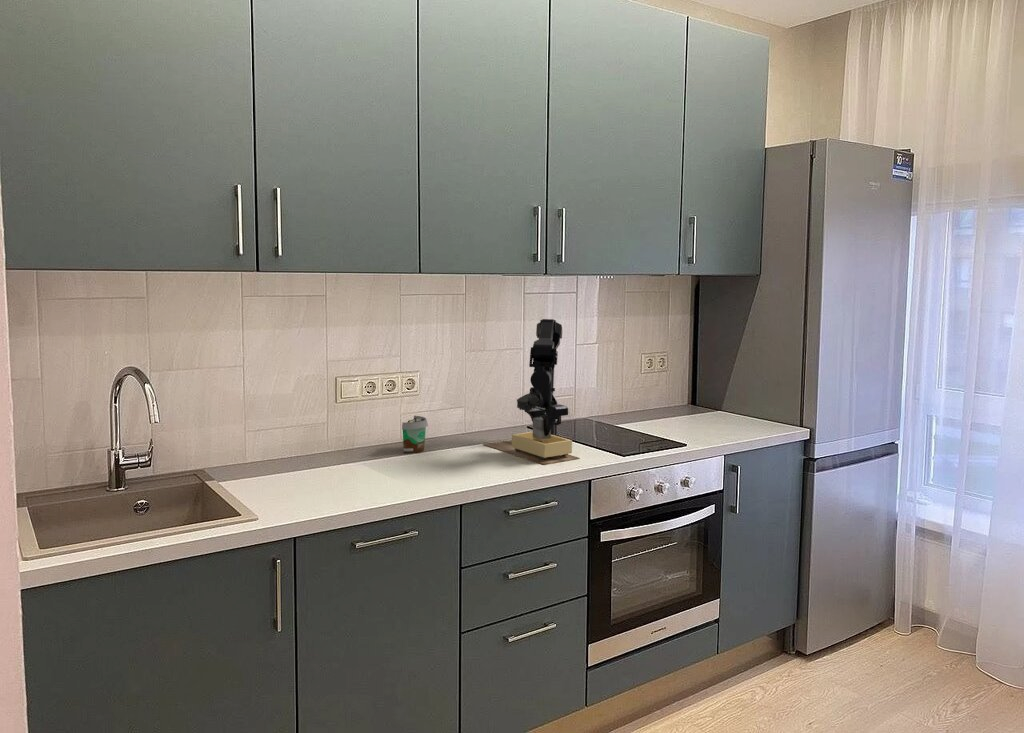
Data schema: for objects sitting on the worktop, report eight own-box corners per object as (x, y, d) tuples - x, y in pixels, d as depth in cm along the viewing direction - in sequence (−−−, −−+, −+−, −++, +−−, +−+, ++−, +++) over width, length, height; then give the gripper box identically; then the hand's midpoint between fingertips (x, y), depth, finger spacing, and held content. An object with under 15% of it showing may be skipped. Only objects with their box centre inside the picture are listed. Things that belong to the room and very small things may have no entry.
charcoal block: (542, 435, 262) (543, 416, 261) (550, 438, 258) (551, 419, 258) (532, 437, 259) (532, 418, 258) (540, 439, 256) (540, 420, 255)
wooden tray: (538, 446, 269) (538, 430, 269) (571, 456, 256) (572, 440, 255) (511, 450, 263) (511, 434, 262) (544, 461, 250) (544, 444, 249)
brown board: (517, 439, 281) (517, 438, 281) (579, 458, 256) (579, 457, 256) (482, 444, 273) (482, 443, 273) (543, 465, 247) (543, 464, 247)
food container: (421, 455, 257) (421, 423, 255) (401, 454, 258) (401, 422, 257) (432, 447, 269) (432, 416, 267) (414, 445, 270) (414, 415, 269)
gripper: (503, 382, 259) (503, 432, 261) (540, 391, 244) (539, 443, 247) (532, 379, 266) (531, 428, 268) (570, 387, 251) (568, 438, 253)
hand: (541, 434), depth 259 cm, fingers closed on charcoal block, 4 cm apart
